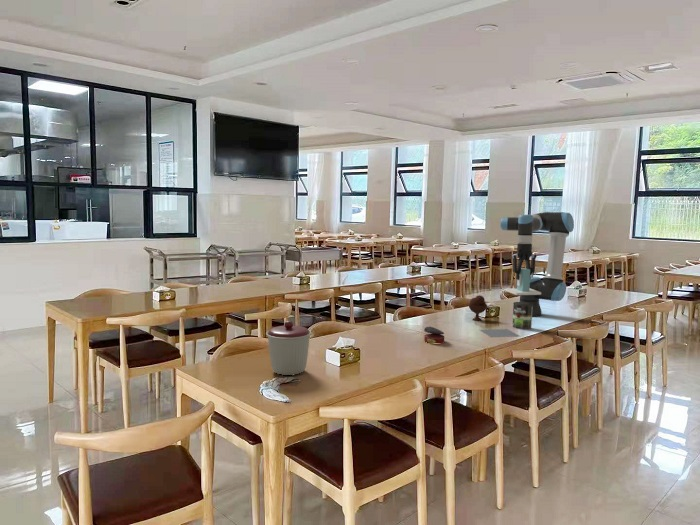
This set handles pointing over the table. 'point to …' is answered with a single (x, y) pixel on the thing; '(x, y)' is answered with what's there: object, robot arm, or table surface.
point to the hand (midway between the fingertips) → (523, 285)
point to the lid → (524, 285)
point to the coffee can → (522, 315)
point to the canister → (288, 348)
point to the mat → (499, 333)
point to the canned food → (433, 335)
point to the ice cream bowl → (477, 306)
